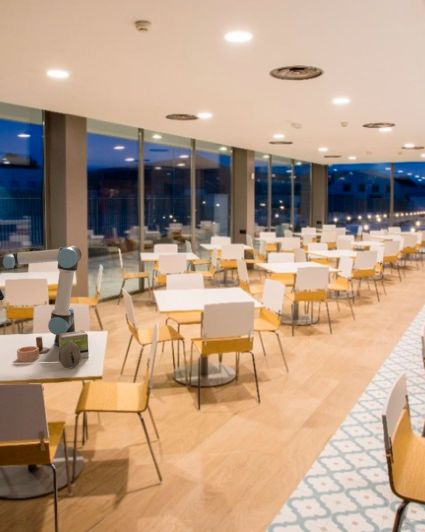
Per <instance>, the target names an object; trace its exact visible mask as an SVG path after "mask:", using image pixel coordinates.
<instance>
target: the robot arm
mask: <svg viewBox="0 0 425 532" xmlns="http://www.w3.org/2000/svg"><path fill="white" fill-rule="evenodd" d="M82 255H83V254H82V250H81V249H80V248H79V247H78V246H77V245H68V246H61V247H59V248H58V249H57V248H55V249H45V250H32V251H23V252H22V251H21V252H8V253H7V254H5V255H0V269H12V268H13V269H14V267H15V266H18V265H28V264H29V265H30V264H43V263H53V262H57V269H58V272H59V273H58V281H57V288H56V296H55V303H54V308H53V309H52V310H51V314H50V319H49V321H48V323H47V328H48V331H49V332H50V333H52V334H53V335H54V336H55V337H54V341H53V343H54V344H53V345H54V346H56V347H59V334H61V333H69V332H76V328H75V326H76V325H75V312H74V308H72V307H71V308H70V304H71V297H72V291H73V290H72V289H73V283H74V277H75V276H74V275H75V273H76V272H77V271H78V266H79V262H80V261H81V260H82ZM4 299H5V295H4V293H3V291H2V289H1V288H0V312H1V311H3V300H4Z"/></svg>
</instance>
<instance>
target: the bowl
mask: <svg viewBox="0 0 425 532" xmlns="http://www.w3.org/2000/svg"><path fill="white" fill-rule="evenodd" d="M16 358H17V361H19V362H32V361H35V360H38V359H39V358H40V354H39V348H38V347H37V346H34V345H31V346H30V345H29V346H22V347H20V348H18V349H16Z"/></svg>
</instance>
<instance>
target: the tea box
mask: <svg viewBox="0 0 425 532" xmlns="http://www.w3.org/2000/svg"><path fill="white" fill-rule="evenodd" d="M69 341H70V342H74V343H75V344H76V345H77V346H78V347H79V350H80V354H81V358H80V360H82V359H88V358H89V354H90V353H89V336H88V333H87V332H86V331H85V330H77V331H76V330H75V332H69V333H61V334H59V346H58V347H59V348H58V349H59V351H60V348H61V346H62V345H63V344H64V343H65V342H69ZM59 351H58V352H59Z"/></svg>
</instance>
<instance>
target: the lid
mask: <svg viewBox="0 0 425 532" xmlns="http://www.w3.org/2000/svg"><path fill="white" fill-rule="evenodd" d="M35 343H36V344H35V345H36V347H38V348H39V355H44V354H43V353H47V352H48V353H49V352H50V351H51V350H49V348H50V347H44V345H43V337H42V336H36V337H35ZM48 353H47V354H48Z"/></svg>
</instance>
